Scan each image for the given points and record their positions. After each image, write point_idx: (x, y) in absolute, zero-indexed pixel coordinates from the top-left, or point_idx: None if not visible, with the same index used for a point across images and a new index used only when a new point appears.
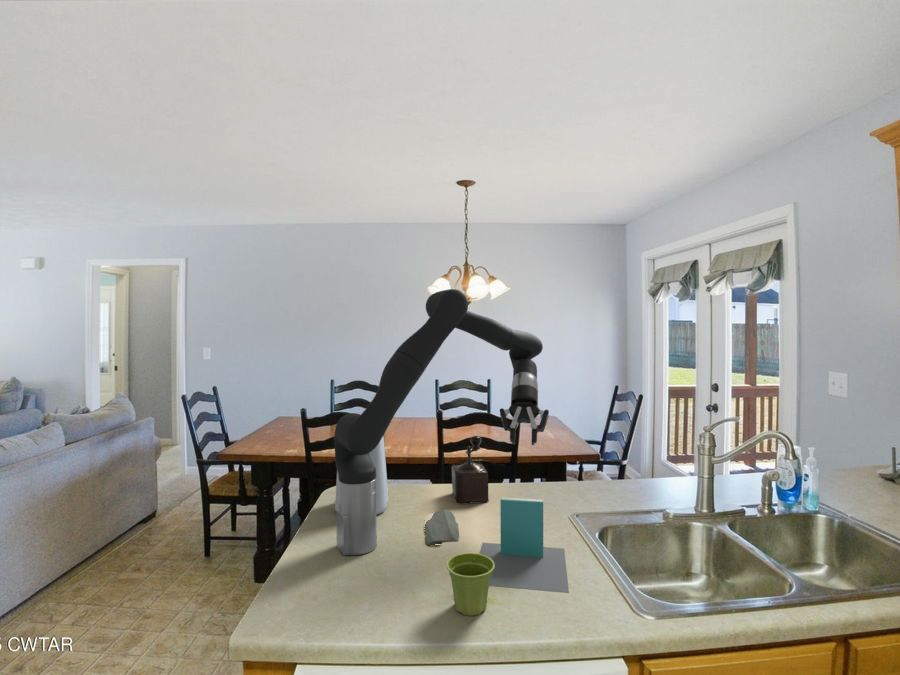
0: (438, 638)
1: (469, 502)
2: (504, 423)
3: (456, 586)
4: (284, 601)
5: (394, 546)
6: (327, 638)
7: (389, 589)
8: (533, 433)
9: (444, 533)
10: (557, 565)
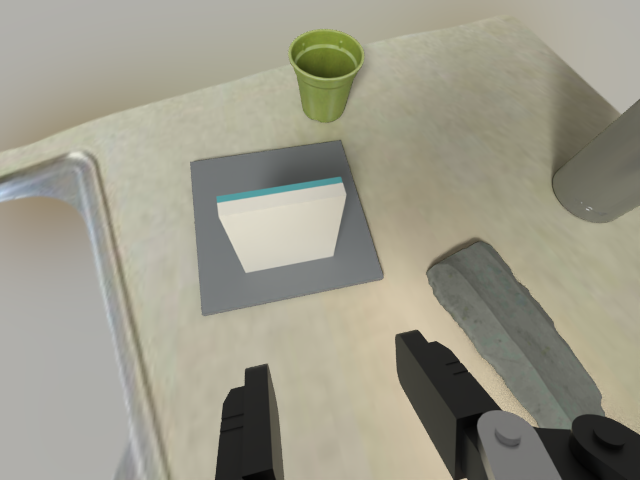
0: None
1: None
2: (633, 441)
3: (336, 57)
4: (535, 60)
5: (534, 217)
6: (439, 31)
7: (443, 110)
8: (251, 426)
9: (476, 276)
10: (212, 236)
